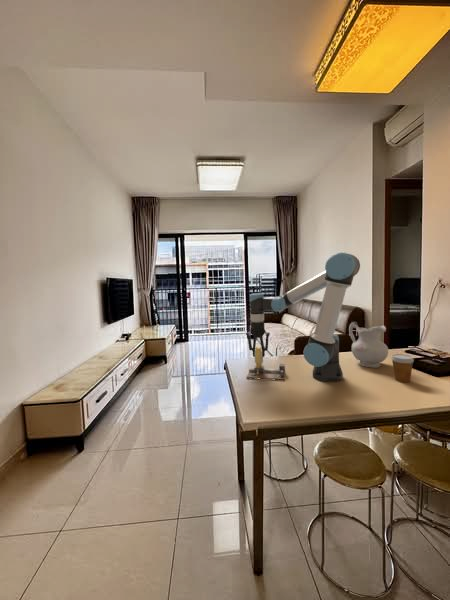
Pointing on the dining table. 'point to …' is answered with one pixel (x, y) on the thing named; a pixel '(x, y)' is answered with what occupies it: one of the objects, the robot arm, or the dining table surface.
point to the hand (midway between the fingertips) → (259, 362)
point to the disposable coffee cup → (402, 367)
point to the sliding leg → (258, 361)
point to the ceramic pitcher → (368, 345)
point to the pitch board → (269, 373)
